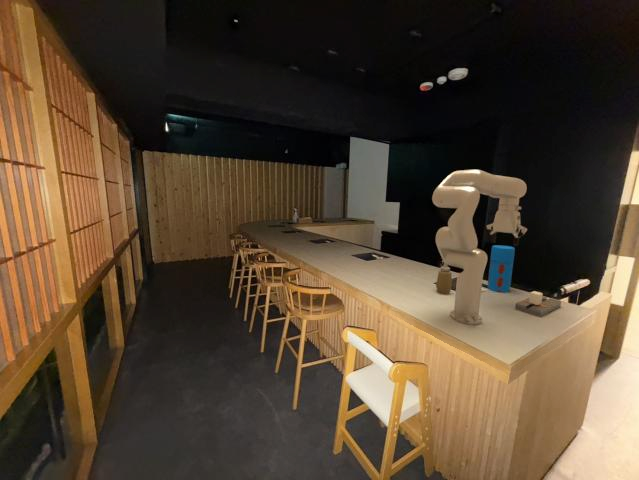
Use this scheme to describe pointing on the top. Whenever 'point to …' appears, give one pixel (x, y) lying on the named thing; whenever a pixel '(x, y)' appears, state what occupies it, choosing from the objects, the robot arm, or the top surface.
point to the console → (538, 306)
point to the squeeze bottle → (444, 280)
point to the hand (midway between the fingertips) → (503, 244)
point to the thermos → (501, 268)
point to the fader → (535, 298)
